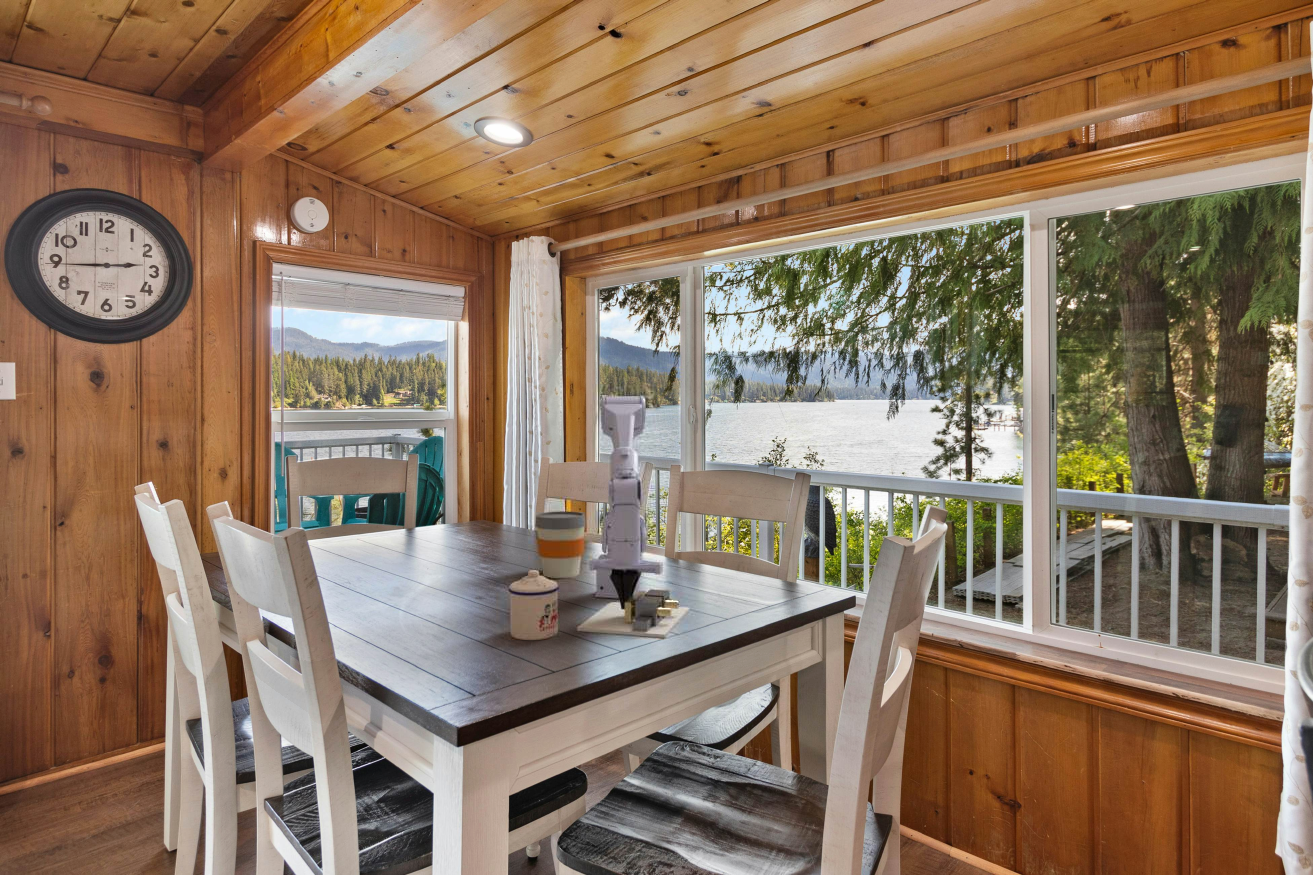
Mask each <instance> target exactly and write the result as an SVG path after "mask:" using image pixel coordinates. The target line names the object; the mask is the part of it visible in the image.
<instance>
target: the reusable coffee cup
mask: <svg viewBox="0 0 1313 875" xmlns="http://www.w3.org/2000/svg"><path fill="white" fill-rule="evenodd" d="M586 526H587V522H586V514H585V513H584V512H581V511H569V510H567V511H565V510H564V511H563V510H561V511H559V510H558V511H546V512H541V513H537V514H536V516H535V526H534V527H535V528H536V533H537V537H536V544H537V550H538V551H537V553H538V556H539V557H540V561H541V567H542V576H543V577H545V576H546V577H545V578H549V577H550V579H566V578H573V577H577V576H579V575H580V572H581V571H580V570H581V569H580V568H581V560H582V555H584V549H585V540H586V536H585V535H584V534H585V527H586Z"/></svg>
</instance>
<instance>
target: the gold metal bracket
mask: <svg viewBox="0 0 1313 875" xmlns="http://www.w3.org/2000/svg"><path fill="white" fill-rule="evenodd" d="M646 592H647V590H646V591H639V592H637V593H636V594H635V595H634V596H632V597H631V598H630V599H629V600H627V601H626V602H625V622H632V621H633V620H634V619H635V602H636V601H637V600H638V599H639V598H640V597H642V596H644V594H645V593H646ZM679 604H680V602H679V601H678V600H671V601H670V600H665V608H657V616H669V617H670V616H671V608H672V609H678V607H680V605H679Z"/></svg>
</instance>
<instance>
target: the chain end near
mask: <svg viewBox="0 0 1313 875" xmlns="http://www.w3.org/2000/svg"><path fill="white" fill-rule="evenodd" d="M657 608H662V597H649V596H642V597H640V598H639V599H638V600H637V601H636V602H635V619H634V620H633V631H645V632H647V631H648V630H649V629H650V628H651V627H652V626H657V625H658V624H659V623H660V622H661V621H662V616H657Z"/></svg>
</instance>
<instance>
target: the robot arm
mask: <svg viewBox="0 0 1313 875" xmlns="http://www.w3.org/2000/svg"><path fill="white" fill-rule="evenodd" d="M645 422H646V398H645V397H644V395H640V396H639V395H637V396H636V395H634V396H633V395H631V396H630V395H629V396H628V395H627V396H625V395H624V396H621V395H620V396H619V395H617V396H611V395H610V396H606V395H602V397H601V398H600V423H601V425H600V426H601V431H602V434H604V435H606V436H608V437H610V440H611V442H612V446H613V451H612V452H611V453H610V457H609V461H610V464H609V466H610V467H609V469H610V470H609V471H610V472H609V474H610V478H609V479H610V480H609V481H608V486H607V488H608V489H607V490H608V493H607V498H608V505H609V506H608V507H609V513H608V514H606V516H604V517H603V520H601V521H602V522H601V526H602V527H601V551H602V553H603V554H600V555H599V556H598V557H597V558H591V559H590V560H589V561H588V563H589V564H588V565H589V567H588V568H589V571H592V572H593V571H595V572H596V573H595V574H596V575H595V578H596V579H595V581H596V588H595V589H596V594H595V597H596V598H609V599H618V600H619V603H620V604H621V609H624V610H625V602H626V601H627V600H629V599H630V598H631V597H632V596H634V595H635V594H636V593H637V592H639V591H646V592H647V589H646V588H641V576H642V573H644V574H655V575H662V573H663V572H664V570H663V568H664V566H663V565H664V564H663V562H660V561H659V562H658V561H649V560H643V559H641V556H642V554H645V552H646V550H647V527H646V520H645V518H644V516H643V515H641V509H640V508H641V507H642V503H643V484H642V483H643V482H642V479H641V473H640V469H639V467H640V464H639V454H638V452H637V451H636V450H634V449H633V446H634V445H633V444H634V443H635V442H634V441H635V439H636V437H638V436H640V435H642V434H643V432H644V429H645ZM638 501H639V504H638ZM639 506H640V507H639Z"/></svg>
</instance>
